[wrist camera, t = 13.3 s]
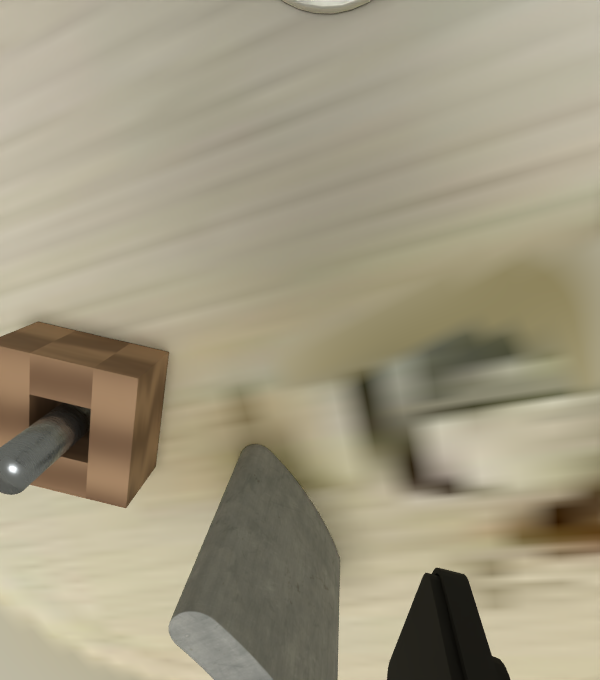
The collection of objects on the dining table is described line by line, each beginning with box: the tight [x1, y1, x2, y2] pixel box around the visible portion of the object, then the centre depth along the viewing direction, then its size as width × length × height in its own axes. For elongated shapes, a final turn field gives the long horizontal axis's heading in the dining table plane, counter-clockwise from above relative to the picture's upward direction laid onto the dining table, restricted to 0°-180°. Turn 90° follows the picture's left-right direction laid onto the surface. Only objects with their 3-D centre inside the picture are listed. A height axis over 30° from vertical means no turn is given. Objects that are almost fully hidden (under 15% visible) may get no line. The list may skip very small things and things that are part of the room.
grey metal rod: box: [0, 402, 91, 495], centre depth 35 cm, size 3×3×12 cm
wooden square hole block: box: [0, 322, 169, 508], centre depth 38 cm, size 12×12×6 cm
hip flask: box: [169, 444, 340, 680], centre depth 33 cm, size 16×4×20 cm, turn 30°
